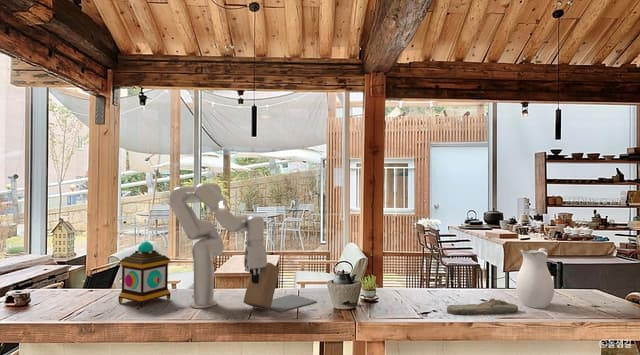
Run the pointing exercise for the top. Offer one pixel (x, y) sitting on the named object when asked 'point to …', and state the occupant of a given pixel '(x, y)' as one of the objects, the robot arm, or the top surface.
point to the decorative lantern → (144, 275)
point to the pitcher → (534, 280)
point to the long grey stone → (483, 308)
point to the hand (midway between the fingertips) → (255, 282)
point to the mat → (289, 302)
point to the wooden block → (262, 288)
